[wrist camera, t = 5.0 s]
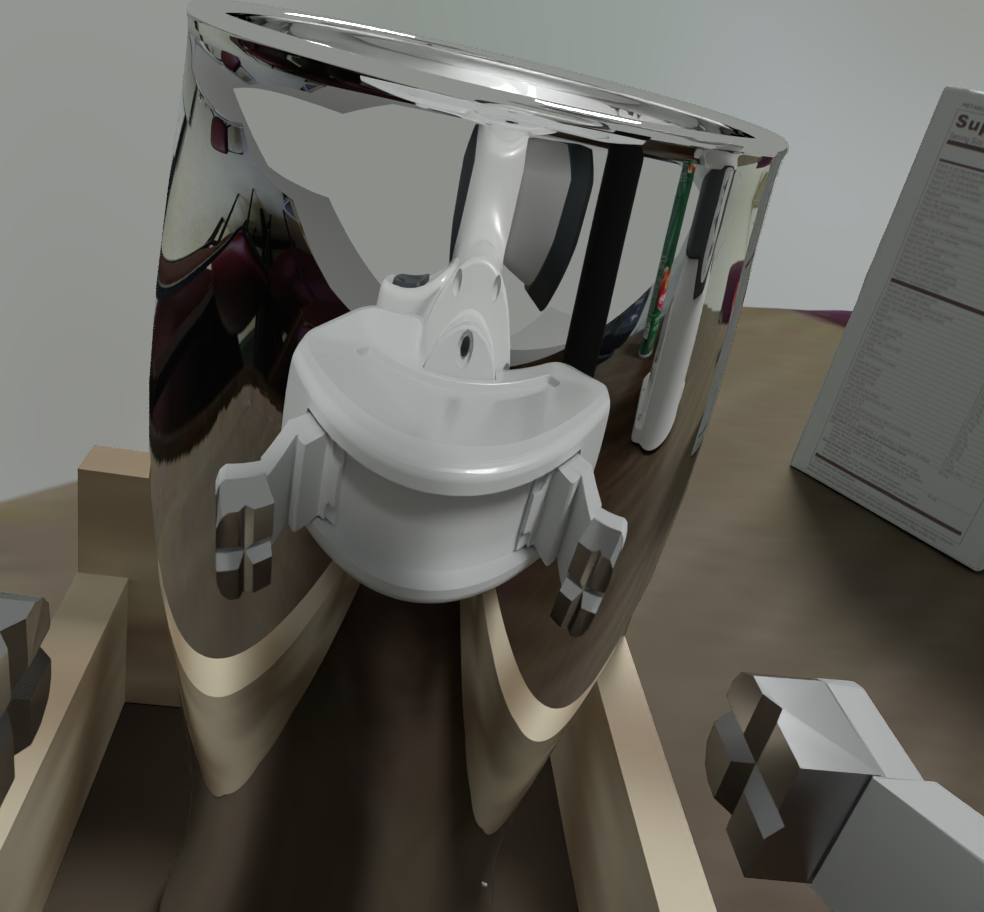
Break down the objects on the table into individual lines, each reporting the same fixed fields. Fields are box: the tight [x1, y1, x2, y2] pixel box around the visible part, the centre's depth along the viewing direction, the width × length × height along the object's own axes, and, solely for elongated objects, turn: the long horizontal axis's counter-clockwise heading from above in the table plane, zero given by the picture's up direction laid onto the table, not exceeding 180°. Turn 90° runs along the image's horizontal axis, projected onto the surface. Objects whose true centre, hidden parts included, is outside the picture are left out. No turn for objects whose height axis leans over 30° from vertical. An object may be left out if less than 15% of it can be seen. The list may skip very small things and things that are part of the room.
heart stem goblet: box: [149, 0, 789, 912], centre depth 13 cm, size 7×7×15 cm
